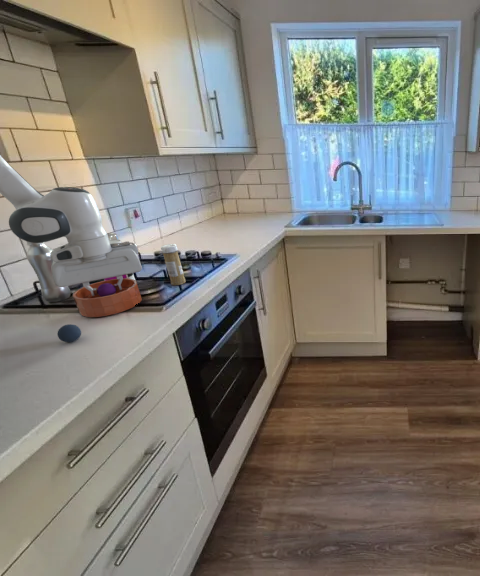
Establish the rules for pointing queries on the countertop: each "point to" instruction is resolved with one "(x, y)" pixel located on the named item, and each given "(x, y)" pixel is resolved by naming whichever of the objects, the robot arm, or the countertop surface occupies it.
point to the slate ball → (69, 333)
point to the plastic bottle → (45, 272)
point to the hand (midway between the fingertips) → (107, 292)
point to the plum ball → (106, 289)
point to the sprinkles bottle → (173, 264)
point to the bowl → (107, 299)
